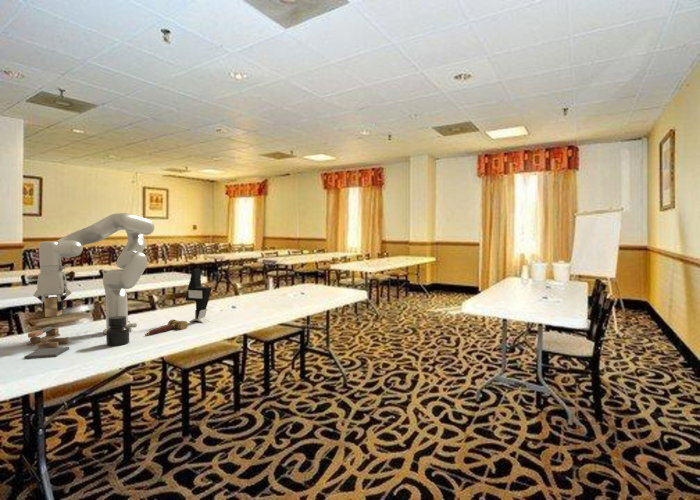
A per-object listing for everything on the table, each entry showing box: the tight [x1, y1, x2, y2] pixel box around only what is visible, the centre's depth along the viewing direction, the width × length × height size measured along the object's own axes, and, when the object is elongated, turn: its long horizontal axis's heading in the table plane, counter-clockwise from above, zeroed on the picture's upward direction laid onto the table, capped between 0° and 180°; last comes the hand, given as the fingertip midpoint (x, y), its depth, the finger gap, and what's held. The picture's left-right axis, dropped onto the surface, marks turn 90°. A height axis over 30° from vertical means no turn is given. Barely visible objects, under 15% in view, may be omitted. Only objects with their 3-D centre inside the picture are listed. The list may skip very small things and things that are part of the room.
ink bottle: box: [105, 316, 130, 347], centre depth 176 cm, size 10×9×12 cm
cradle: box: [37, 337, 69, 350], centre depth 173 cm, size 7×10×2 cm
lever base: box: [25, 326, 61, 347], centre depth 183 cm, size 5×18×4 cm, turn 12°
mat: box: [23, 346, 70, 360], centre depth 161 cm, size 11×11×1 cm
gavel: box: [144, 319, 189, 337], centre depth 198 cm, size 21×5×10 cm
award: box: [184, 268, 212, 324], centre depth 221 cm, size 15×5×30 cm, turn 68°
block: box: [44, 296, 63, 318], centre depth 173 cm, size 4×4×8 cm
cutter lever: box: [27, 326, 54, 339], centre depth 181 cm, size 3×15×2 cm, turn 12°
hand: (53, 310), depth 173 cm, fingers closed on block, 4 cm apart
